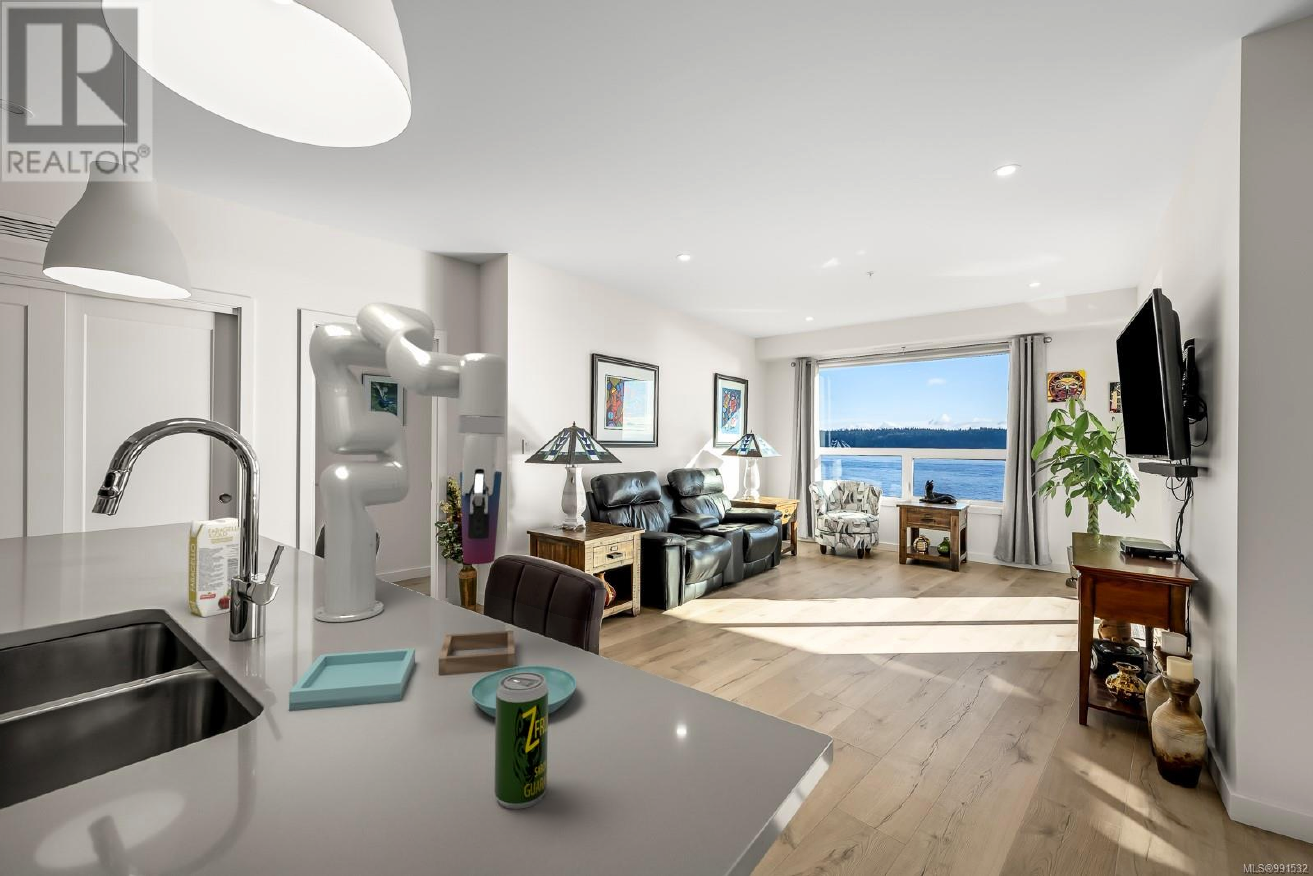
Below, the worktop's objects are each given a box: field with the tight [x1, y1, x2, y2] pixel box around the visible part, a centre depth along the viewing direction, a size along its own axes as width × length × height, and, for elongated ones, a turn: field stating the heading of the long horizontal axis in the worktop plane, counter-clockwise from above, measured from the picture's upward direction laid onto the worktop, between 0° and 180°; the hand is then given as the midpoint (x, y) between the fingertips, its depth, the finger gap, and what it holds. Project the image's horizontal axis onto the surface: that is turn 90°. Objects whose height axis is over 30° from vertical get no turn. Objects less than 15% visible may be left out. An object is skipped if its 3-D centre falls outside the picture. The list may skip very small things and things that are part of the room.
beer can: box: [494, 672, 549, 810], centre depth 62 cm, size 5×5×12 cm
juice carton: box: [187, 517, 239, 618], centre depth 123 cm, size 8×9×19 cm
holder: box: [438, 630, 515, 676], centre depth 100 cm, size 12×12×2 cm
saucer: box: [469, 665, 578, 719], centre depth 84 cm, size 15×15×3 cm
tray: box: [288, 647, 416, 712], centre depth 89 cm, size 14×14×2 cm
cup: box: [459, 470, 503, 565], centre depth 100 cm, size 7×7×15 cm
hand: (479, 533), depth 100 cm, fingers closed on cup, 6 cm apart
